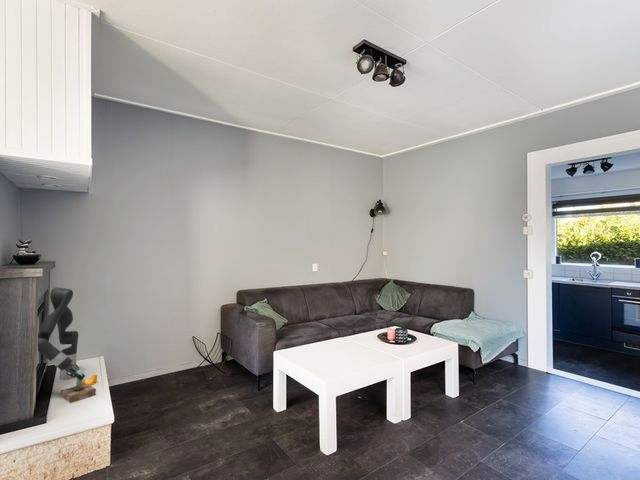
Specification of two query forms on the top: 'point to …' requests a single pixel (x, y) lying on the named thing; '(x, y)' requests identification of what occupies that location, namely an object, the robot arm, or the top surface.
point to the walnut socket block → (78, 393)
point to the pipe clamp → (91, 380)
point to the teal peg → (78, 382)
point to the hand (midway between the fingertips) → (83, 378)
